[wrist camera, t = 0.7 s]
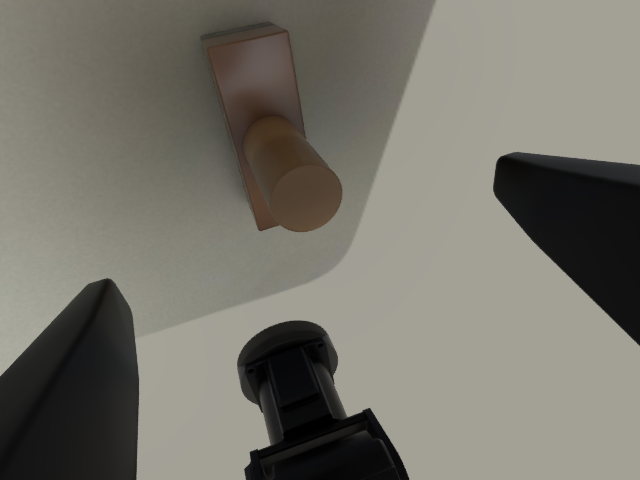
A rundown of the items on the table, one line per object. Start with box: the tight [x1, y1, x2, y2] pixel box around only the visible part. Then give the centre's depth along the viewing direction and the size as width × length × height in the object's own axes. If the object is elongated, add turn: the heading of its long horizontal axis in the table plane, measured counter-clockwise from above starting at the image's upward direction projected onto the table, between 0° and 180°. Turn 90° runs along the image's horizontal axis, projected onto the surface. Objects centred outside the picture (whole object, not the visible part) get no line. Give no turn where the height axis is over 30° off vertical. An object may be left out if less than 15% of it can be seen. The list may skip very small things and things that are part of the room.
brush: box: [200, 22, 342, 232], centre depth 15 cm, size 8×3×8 cm, turn 8°
